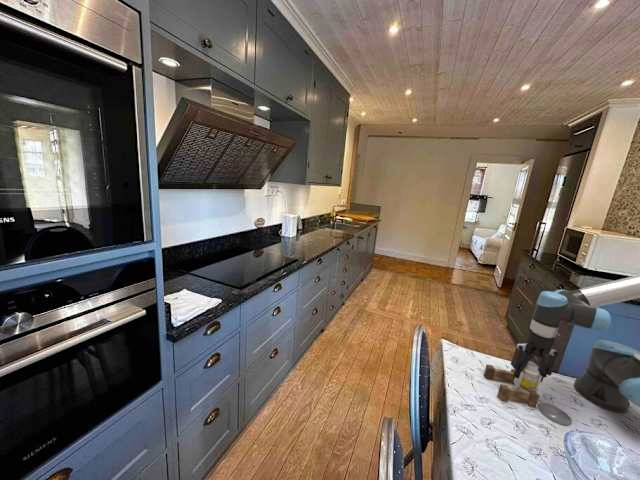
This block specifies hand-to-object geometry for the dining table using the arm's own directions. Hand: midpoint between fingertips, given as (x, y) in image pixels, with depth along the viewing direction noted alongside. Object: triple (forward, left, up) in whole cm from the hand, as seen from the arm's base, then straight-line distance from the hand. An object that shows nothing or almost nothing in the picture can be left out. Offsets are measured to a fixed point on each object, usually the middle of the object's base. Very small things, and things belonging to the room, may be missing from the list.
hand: (525, 386), depth 102 cm
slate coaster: (-5, +9, -3) cm, 11 cm away
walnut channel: (+6, 0, -3) cm, 6 cm away
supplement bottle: (0, 0, -1) cm, 1 cm away
